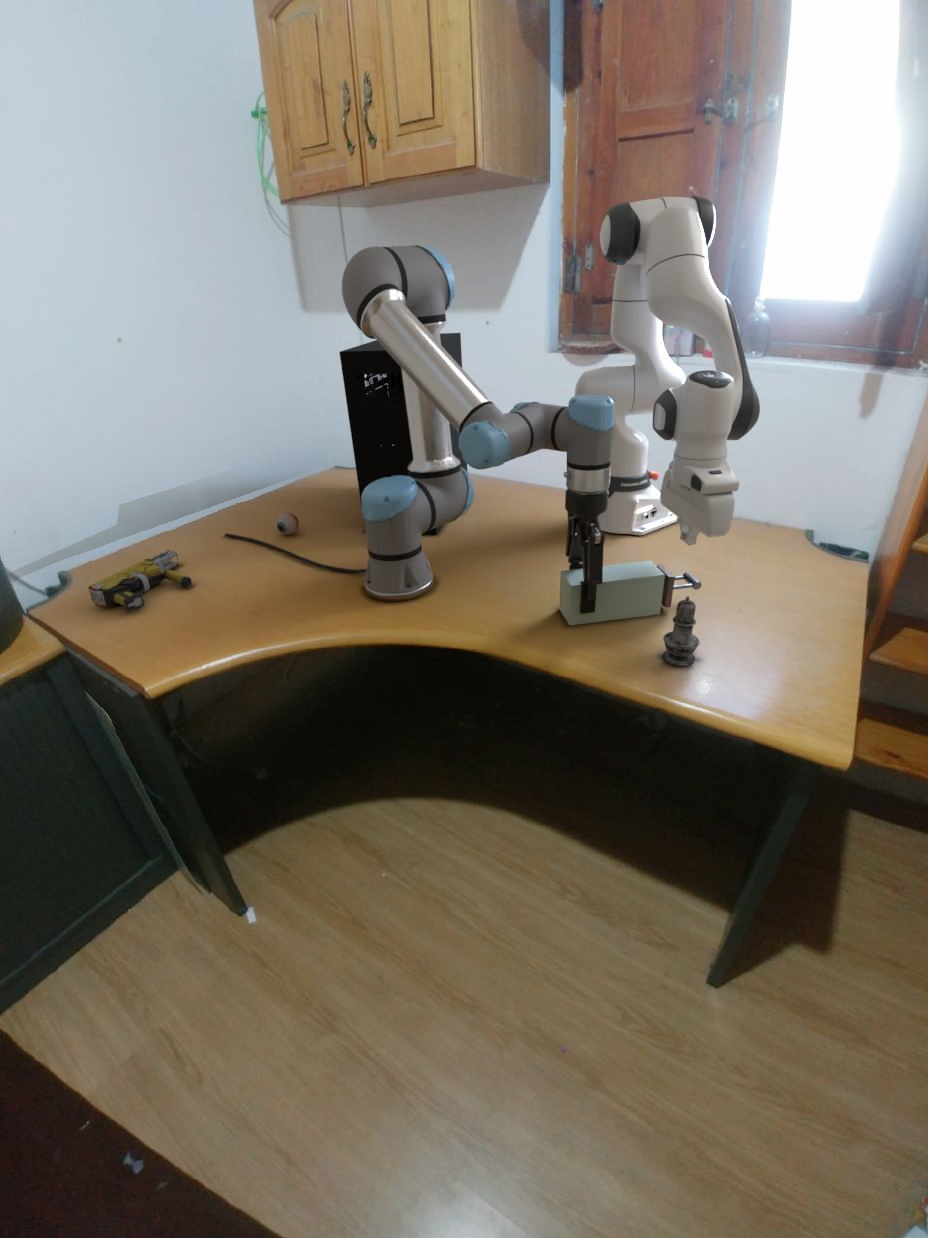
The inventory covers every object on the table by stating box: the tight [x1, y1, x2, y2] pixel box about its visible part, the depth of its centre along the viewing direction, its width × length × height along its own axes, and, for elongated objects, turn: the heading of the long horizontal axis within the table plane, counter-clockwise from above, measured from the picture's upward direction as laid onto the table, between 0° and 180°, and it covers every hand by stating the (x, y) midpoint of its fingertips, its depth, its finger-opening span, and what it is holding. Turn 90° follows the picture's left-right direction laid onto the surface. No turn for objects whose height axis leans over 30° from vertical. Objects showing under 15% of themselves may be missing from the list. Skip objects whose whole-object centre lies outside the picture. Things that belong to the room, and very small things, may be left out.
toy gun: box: [87, 549, 193, 614], centre depth 138 cm, size 5×24×15 cm
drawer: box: [656, 564, 702, 609], centre depth 118 cm, size 23×6×7 cm, turn 99°
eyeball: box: [275, 511, 300, 536], centre depth 163 cm, size 6×6×6 cm
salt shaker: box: [662, 595, 700, 667], centre depth 102 cm, size 6×6×12 cm
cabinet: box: [558, 560, 665, 626], centre depth 118 cm, size 18×7×9 cm, turn 99°
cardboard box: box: [339, 332, 468, 535], centre depth 166 cm, size 38×20×45 cm, turn 167°
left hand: (581, 602), depth 118 cm, fingers closed on cabinet, 7 cm apart
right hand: (687, 542), depth 114 cm, fingers closed
